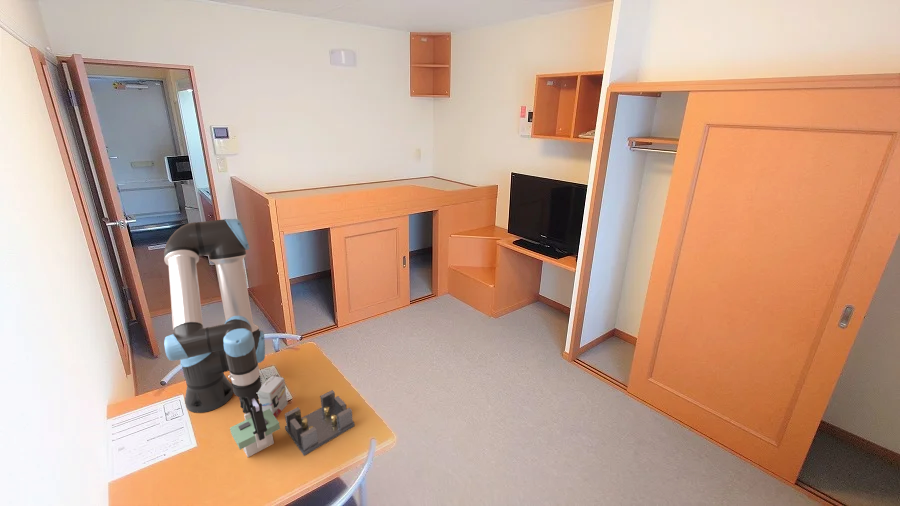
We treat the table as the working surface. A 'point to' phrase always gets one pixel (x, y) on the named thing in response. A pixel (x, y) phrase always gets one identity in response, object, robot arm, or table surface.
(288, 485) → the table surface
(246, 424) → the board
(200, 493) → the table surface
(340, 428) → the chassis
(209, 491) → the table surface
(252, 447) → the riser
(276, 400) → the ink box
